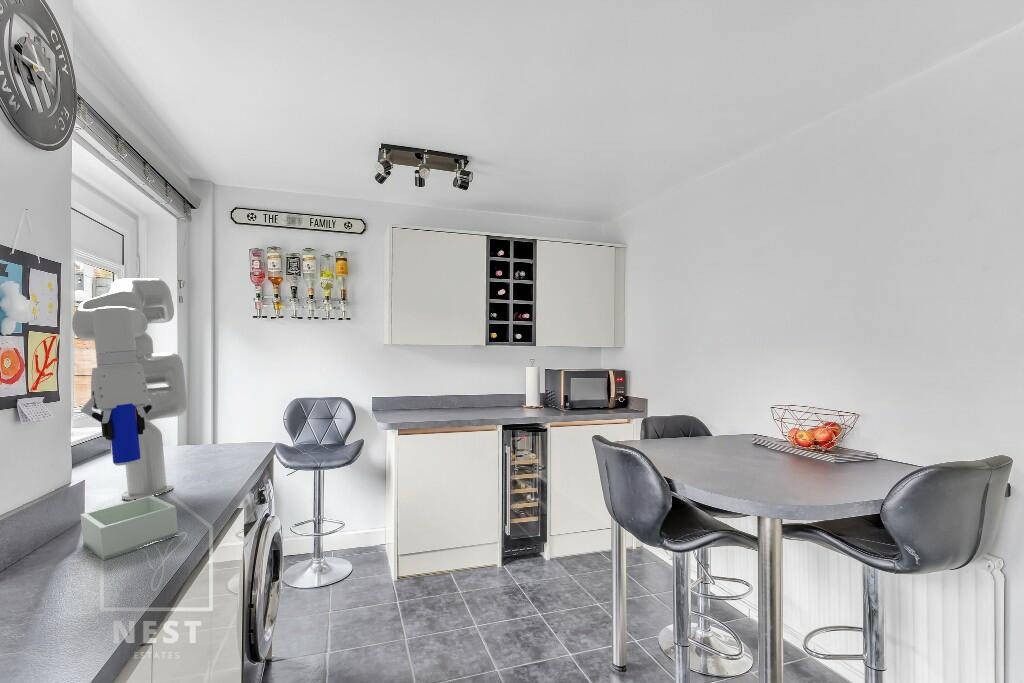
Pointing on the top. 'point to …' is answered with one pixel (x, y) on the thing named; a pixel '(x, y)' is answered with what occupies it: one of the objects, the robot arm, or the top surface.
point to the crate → (128, 526)
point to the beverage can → (125, 434)
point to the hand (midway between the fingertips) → (124, 435)
